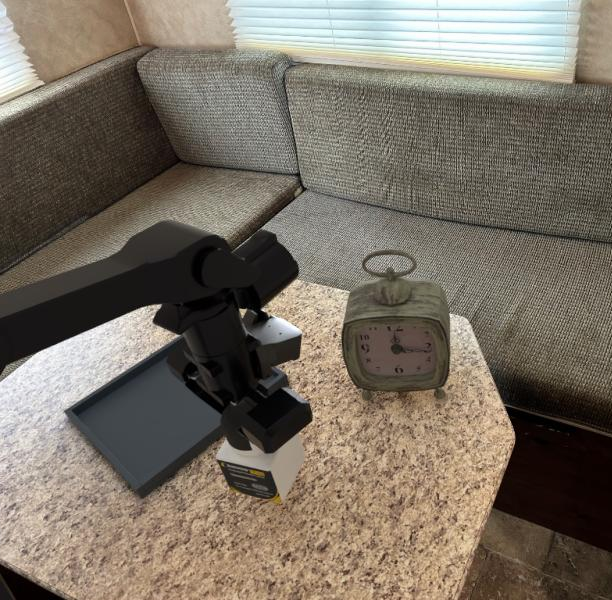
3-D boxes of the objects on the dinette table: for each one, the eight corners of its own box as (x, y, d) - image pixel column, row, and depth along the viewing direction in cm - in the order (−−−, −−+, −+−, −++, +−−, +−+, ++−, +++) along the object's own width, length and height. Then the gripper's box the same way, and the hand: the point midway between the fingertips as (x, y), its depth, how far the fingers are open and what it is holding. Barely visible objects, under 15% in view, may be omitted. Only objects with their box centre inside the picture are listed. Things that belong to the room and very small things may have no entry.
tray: (141, 499, 80) (136, 490, 79) (69, 419, 92) (63, 410, 91) (289, 383, 94) (286, 373, 92) (209, 327, 106) (206, 318, 104)
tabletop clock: (353, 408, 89) (325, 272, 73) (360, 363, 96) (335, 230, 80) (453, 407, 87) (445, 268, 71) (452, 362, 94) (445, 226, 78)
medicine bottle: (229, 492, 73) (200, 429, 66) (257, 445, 78) (233, 381, 71) (282, 505, 71) (259, 442, 64) (307, 456, 76) (288, 392, 69)
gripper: (340, 331, 59) (360, 432, 69) (229, 265, 70) (260, 361, 80) (248, 400, 53) (284, 499, 63) (142, 316, 64) (188, 413, 74)
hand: (254, 435), depth 70 cm, fingers closed on medicine bottle, 6 cm apart
